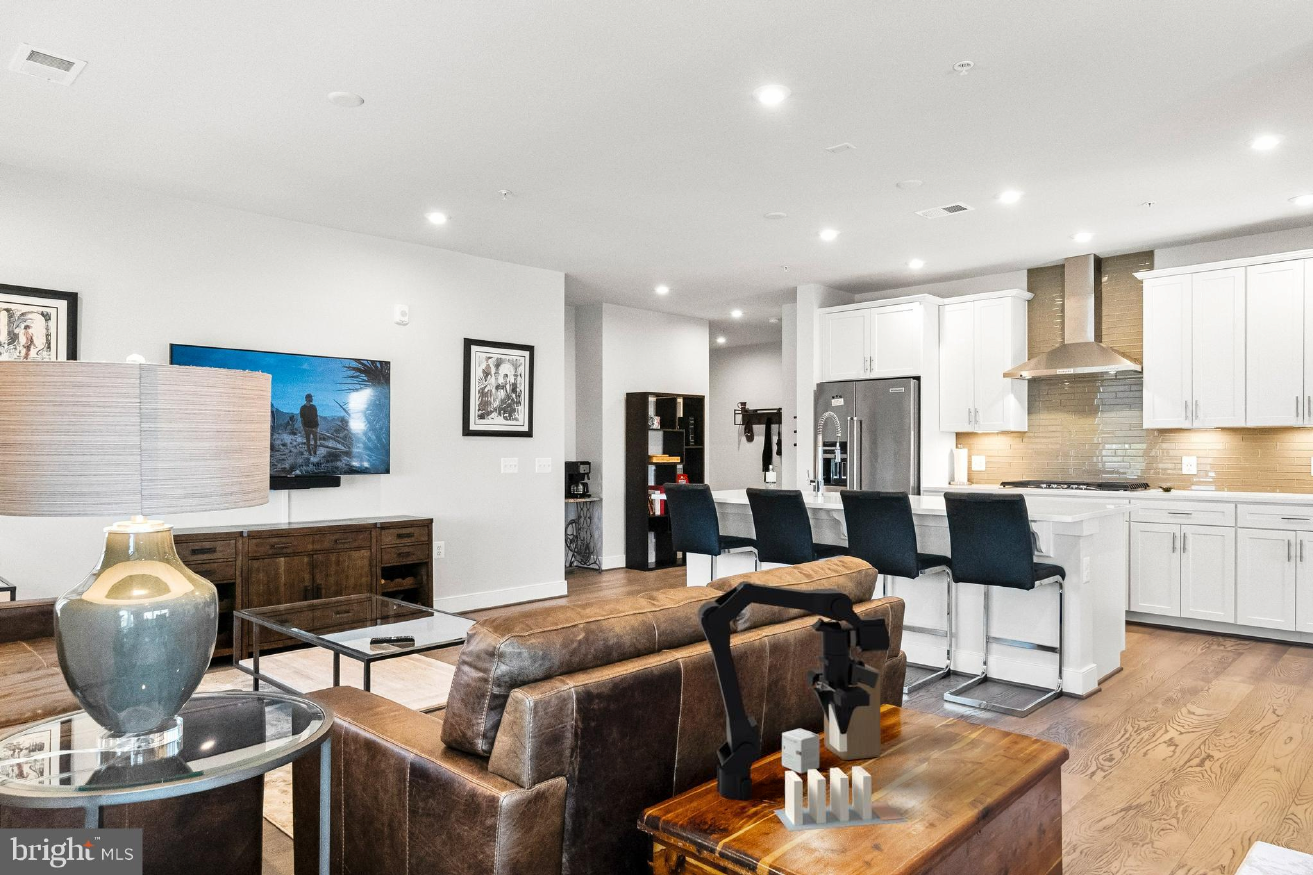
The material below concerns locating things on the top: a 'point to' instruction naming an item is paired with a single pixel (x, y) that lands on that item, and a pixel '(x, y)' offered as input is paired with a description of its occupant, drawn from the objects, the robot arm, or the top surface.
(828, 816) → the domino board
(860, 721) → the wooden block
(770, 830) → the top surface
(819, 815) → the domino
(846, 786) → the domino
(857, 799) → the domino
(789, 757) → the skincare box
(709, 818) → the top surface
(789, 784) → the domino
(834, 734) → the end domino
